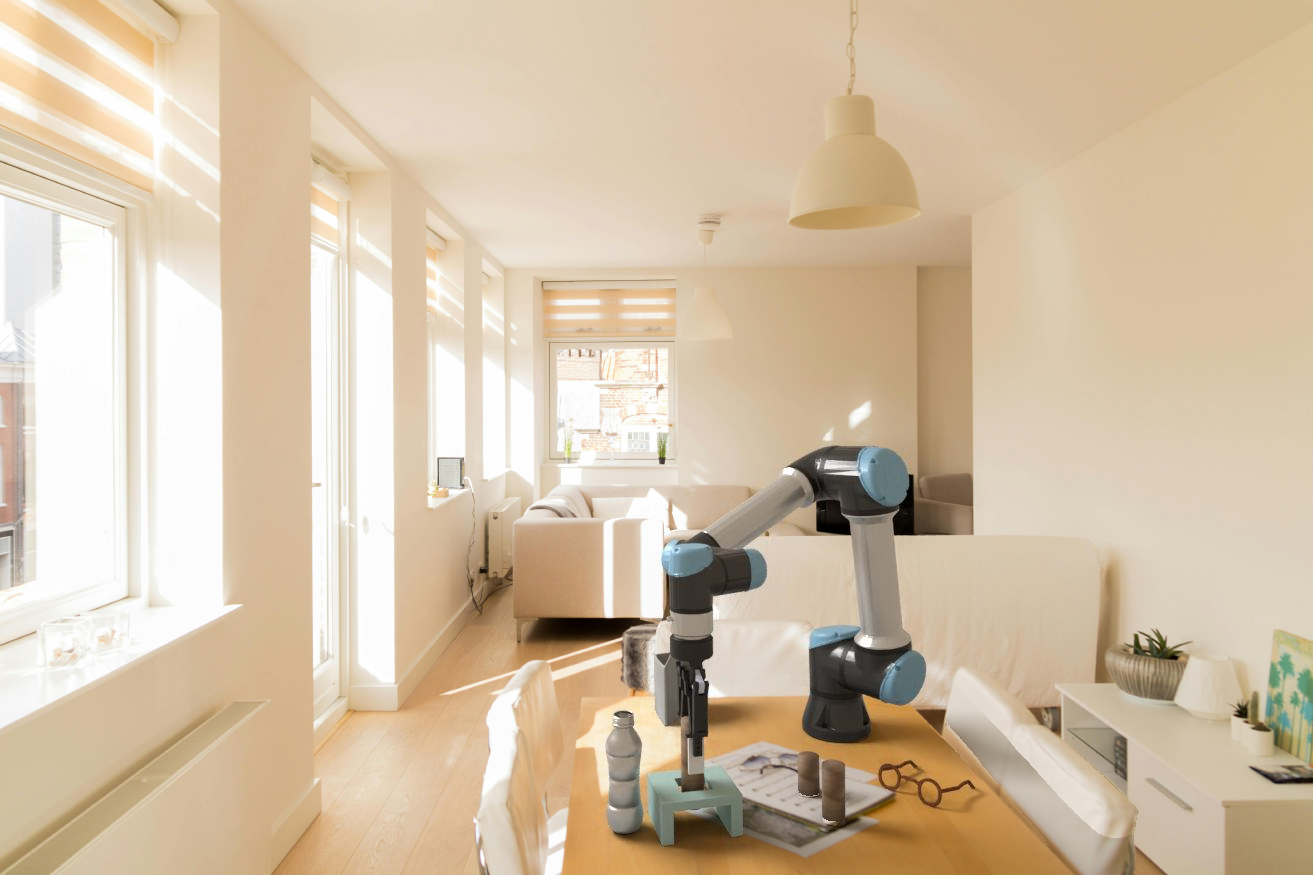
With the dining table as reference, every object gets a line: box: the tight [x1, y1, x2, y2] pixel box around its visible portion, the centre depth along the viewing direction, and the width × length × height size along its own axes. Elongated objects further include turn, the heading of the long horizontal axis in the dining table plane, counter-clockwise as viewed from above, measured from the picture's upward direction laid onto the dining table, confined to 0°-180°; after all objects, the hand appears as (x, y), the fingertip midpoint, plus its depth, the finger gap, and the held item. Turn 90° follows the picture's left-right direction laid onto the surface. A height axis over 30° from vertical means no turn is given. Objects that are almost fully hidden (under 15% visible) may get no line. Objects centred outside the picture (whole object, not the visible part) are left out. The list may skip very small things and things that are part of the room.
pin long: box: [680, 716, 705, 811], centre depth 142 cm, size 4×4×15 cm
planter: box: [653, 651, 680, 727], centre depth 195 cm, size 16×8×19 cm, turn 149°
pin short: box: [797, 750, 821, 796], centre depth 153 cm, size 4×4×7 cm
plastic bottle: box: [605, 710, 645, 835], centre depth 140 cm, size 6×7×20 cm
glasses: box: [878, 759, 976, 808], centre depth 155 cm, size 13×13×5 cm
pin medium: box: [821, 759, 847, 828], centre depth 142 cm, size 4×4×10 cm
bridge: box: [646, 764, 744, 847], centre depth 142 cm, size 14×12×7 cm
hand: (692, 766), depth 142 cm, fingers closed on pin long, 4 cm apart
